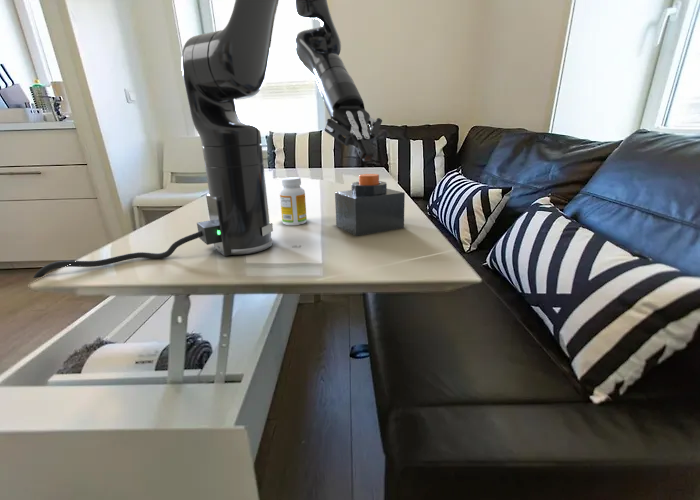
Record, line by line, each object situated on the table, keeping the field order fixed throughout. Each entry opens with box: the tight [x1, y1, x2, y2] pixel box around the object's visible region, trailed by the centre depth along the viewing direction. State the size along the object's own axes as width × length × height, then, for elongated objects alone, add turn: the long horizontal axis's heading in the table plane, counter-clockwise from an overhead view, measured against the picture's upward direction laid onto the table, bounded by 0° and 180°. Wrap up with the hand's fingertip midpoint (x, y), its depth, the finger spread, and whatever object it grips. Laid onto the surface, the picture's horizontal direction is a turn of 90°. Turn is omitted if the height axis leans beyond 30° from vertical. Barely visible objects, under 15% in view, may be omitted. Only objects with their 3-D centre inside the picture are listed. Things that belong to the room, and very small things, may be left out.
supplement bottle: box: [279, 176, 308, 226], centre depth 78 cm, size 5×5×10 cm
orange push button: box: [358, 173, 380, 185], centre depth 71 cm, size 4×4×2 cm
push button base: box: [334, 180, 406, 237], centre depth 72 cm, size 11×9×9 cm
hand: (368, 158), depth 69 cm, fingers closed
